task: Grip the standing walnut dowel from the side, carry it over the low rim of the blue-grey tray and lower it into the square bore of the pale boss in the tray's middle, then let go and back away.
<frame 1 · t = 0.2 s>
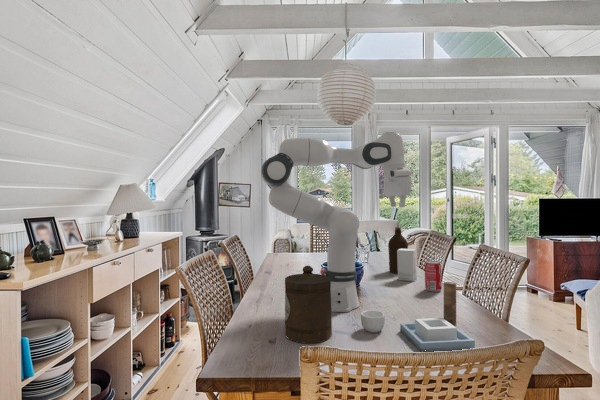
hand: (397, 206, 152), 39 cm above the table, tool pointing down, fingers open, 8 cm apart
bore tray: (435, 339, 115), on the table
peg: (449, 324, 128), on the table
soda can: (433, 290, 171), on the table
olive oil: (398, 272, 210), on the table
teacup: (373, 329, 124), on the table
wooden container: (308, 335, 120), on the table
skincare box: (407, 280, 192), on the table
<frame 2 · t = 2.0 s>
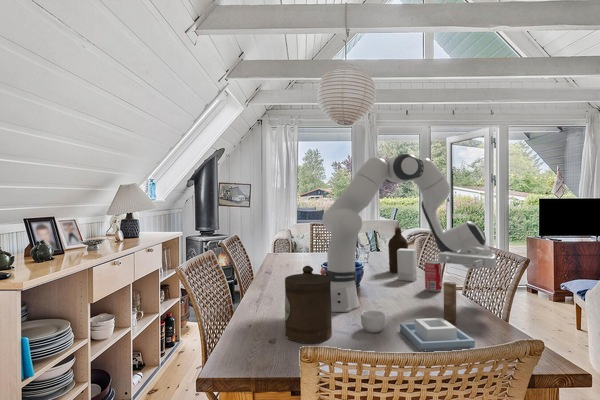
hand: (460, 262, 137), 19 cm above the table, tool horizontal, fingers open, 8 cm apart
nothing on the table moved.
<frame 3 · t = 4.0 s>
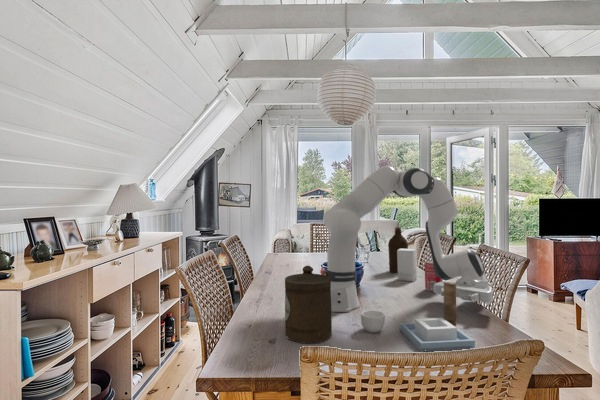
hand: (456, 296, 134), 8 cm above the table, tool horizontal, fingers open, 8 cm apart
nothing on the table moved.
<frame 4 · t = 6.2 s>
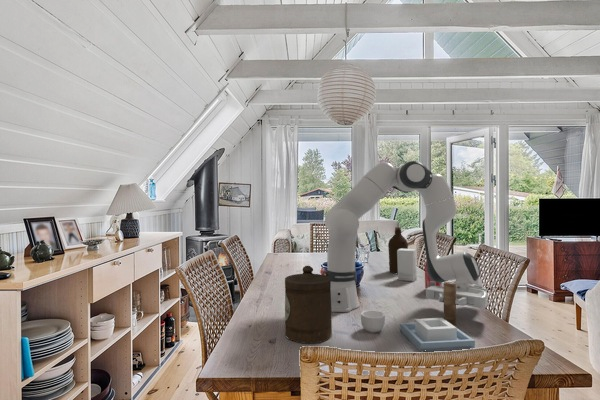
hand: (449, 301, 127), 8 cm above the table, tool horizontal, fingers closed on peg, 4 cm apart
peg: (449, 324, 128), on the table, touching gripper
everything else where it was.
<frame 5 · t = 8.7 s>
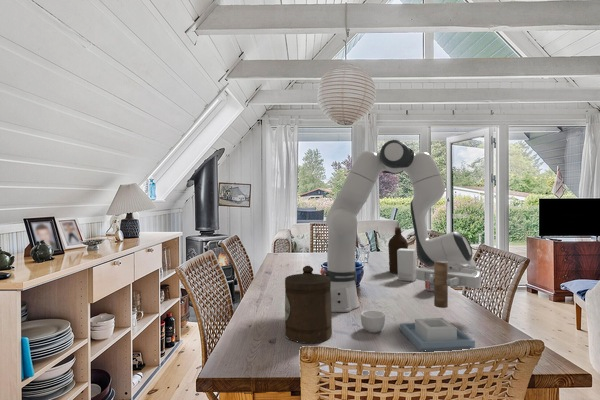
hand: (439, 281, 119), 17 cm above the table, tool horizontal, fingers closed on peg, 4 cm apart
peg: (440, 305, 120), point 9 cm above the table, touching gripper
everything else where it was.
when the fingers open (10 cm above the table, at t = 11.5 s): peg stays where it is, resting on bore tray.
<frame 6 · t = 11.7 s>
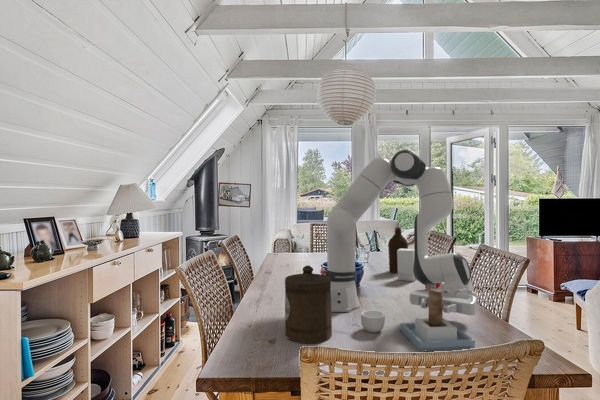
hand: (434, 307, 114), 10 cm above the table, tool horizontal, fingers open, 5 cm apart
peg: (435, 336, 115), point 1 cm above the table, touching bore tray
everything else where it was.
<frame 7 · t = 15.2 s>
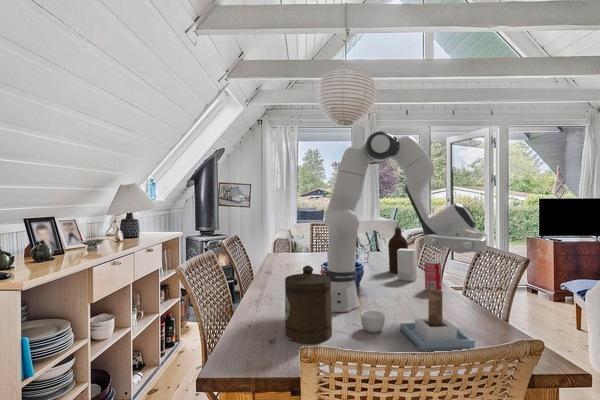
hand: (447, 244, 124), 28 cm above the table, tool horizontal, fingers open, 8 cm apart
nothing on the table moved.
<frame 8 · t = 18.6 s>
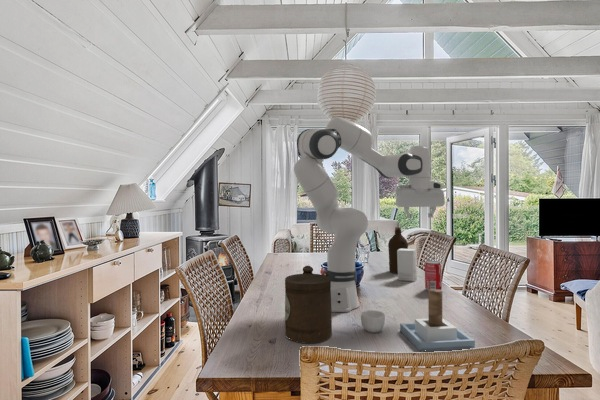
hand: (420, 217, 158), 34 cm above the table, tool pointing down, fingers open, 8 cm apart
nothing on the table moved.
at the end: peg 0.0 cm off-centre on the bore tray, point 1.0 cm above the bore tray's base; peg tilted 0°; the gripper is holding nothing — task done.
